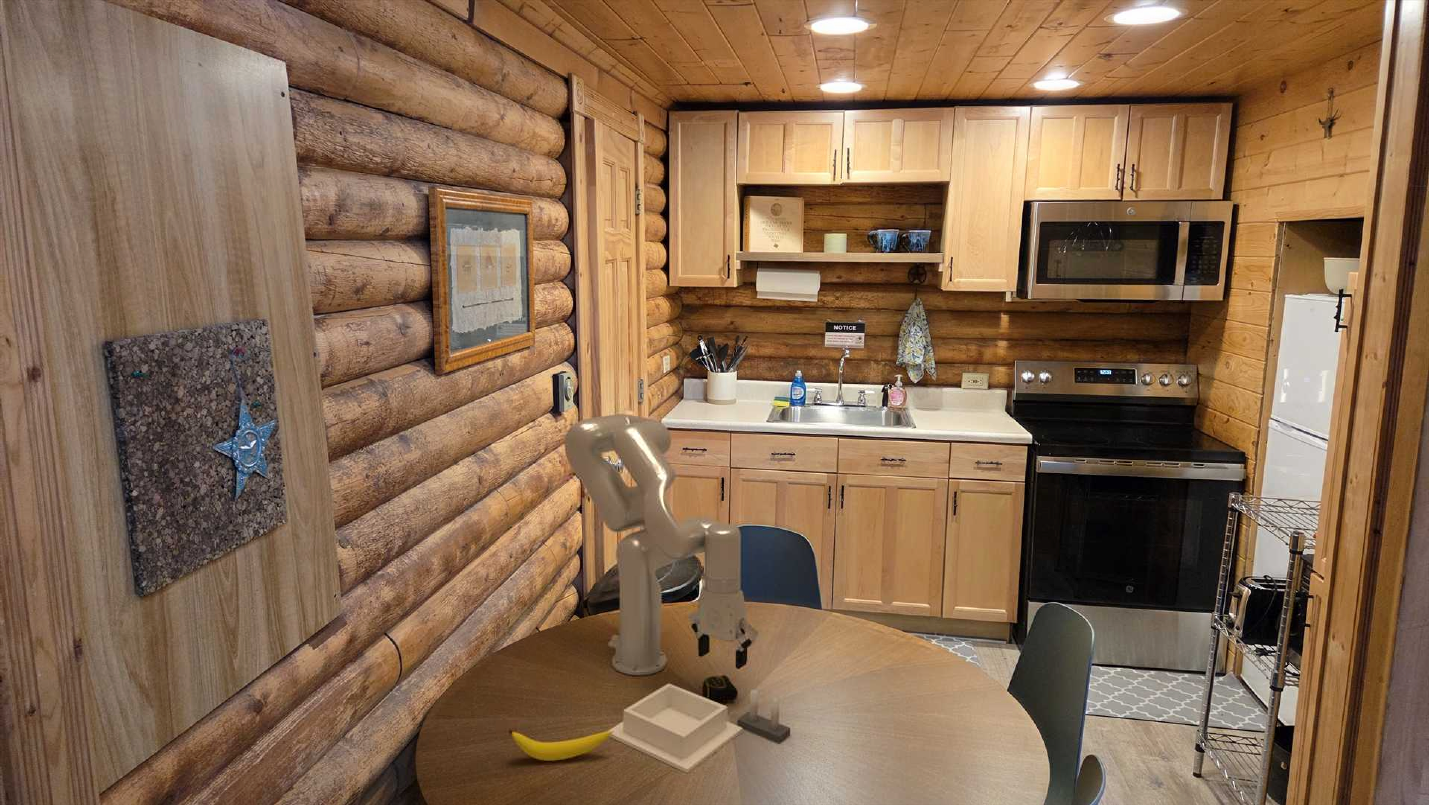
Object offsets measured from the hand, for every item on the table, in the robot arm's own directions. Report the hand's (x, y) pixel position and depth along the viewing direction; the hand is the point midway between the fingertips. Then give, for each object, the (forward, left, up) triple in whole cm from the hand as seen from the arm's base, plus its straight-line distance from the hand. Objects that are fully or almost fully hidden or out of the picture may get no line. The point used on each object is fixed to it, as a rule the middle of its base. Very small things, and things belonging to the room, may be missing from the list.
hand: (722, 660), depth 179 cm
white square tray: (+1, -17, -9) cm, 19 cm away
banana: (-10, -37, -9) cm, 39 cm away
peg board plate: (+14, -5, -9) cm, 17 cm away
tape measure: (-1, +1, -9) cm, 9 cm away
